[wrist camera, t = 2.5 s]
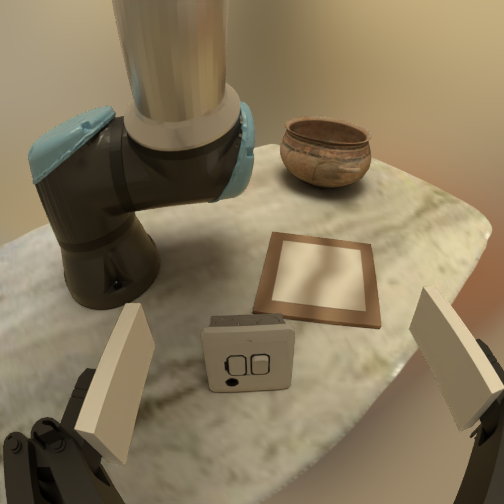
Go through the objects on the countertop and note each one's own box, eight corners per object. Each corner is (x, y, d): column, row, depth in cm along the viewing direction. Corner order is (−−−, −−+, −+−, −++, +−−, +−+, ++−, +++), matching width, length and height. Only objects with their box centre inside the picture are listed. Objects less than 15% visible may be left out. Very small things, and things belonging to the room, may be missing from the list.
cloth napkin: (252, 313, 37) (252, 310, 36) (272, 234, 48) (272, 231, 48) (379, 328, 34) (381, 325, 34) (370, 247, 46) (371, 243, 46)
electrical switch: (209, 393, 29) (198, 347, 24) (210, 358, 32) (201, 307, 28) (290, 389, 29) (299, 342, 24) (285, 355, 33) (291, 303, 28)
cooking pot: (266, 160, 71) (266, 112, 63) (336, 157, 74) (342, 113, 66) (300, 217, 52) (306, 152, 44) (388, 208, 55) (402, 152, 47)
